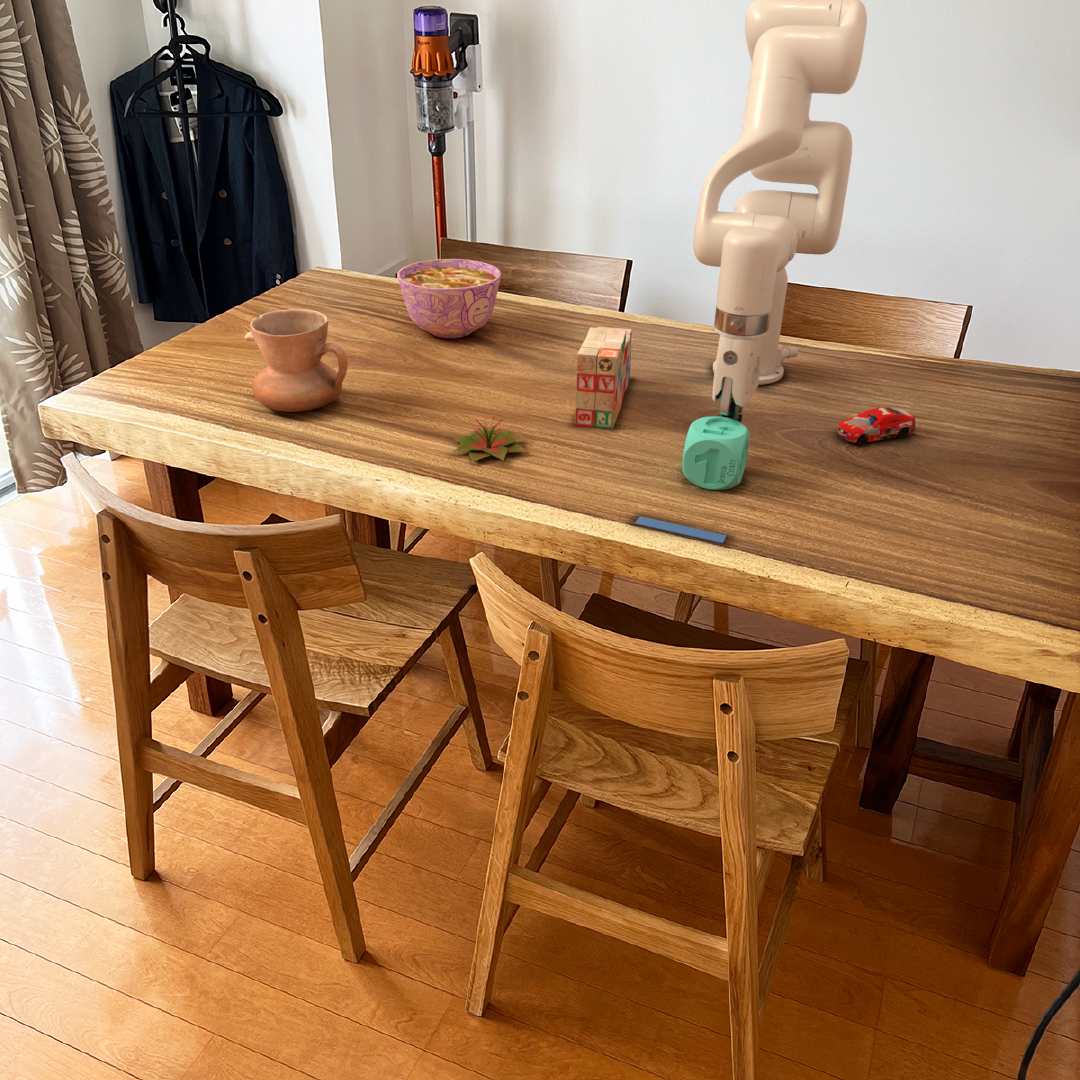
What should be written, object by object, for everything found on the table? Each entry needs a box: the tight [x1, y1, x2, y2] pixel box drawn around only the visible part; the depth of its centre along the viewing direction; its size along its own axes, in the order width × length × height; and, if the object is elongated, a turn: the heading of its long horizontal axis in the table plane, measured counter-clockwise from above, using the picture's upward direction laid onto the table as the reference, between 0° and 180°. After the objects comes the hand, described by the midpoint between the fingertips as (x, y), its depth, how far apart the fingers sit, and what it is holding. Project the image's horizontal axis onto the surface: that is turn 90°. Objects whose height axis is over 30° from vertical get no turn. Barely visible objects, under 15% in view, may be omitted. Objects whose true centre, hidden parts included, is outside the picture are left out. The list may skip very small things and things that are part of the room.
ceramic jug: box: [244, 308, 349, 413], centre depth 160 cm, size 18×14×14 cm
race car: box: [836, 406, 916, 446], centre depth 154 cm, size 13×5×4 cm, turn 110°
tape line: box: [634, 516, 727, 544], centre depth 130 cm, size 12×2×1 cm, turn 66°
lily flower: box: [451, 415, 528, 463], centre depth 149 cm, size 12×12×5 cm
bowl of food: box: [396, 258, 502, 339], centre depth 191 cm, size 20×20×12 cm
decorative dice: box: [681, 415, 751, 491], centre depth 140 cm, size 8×8×8 cm
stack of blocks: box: [574, 326, 633, 430], centre depth 162 cm, size 21×6×12 cm, turn 168°
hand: (727, 438), depth 146 cm, fingers closed
